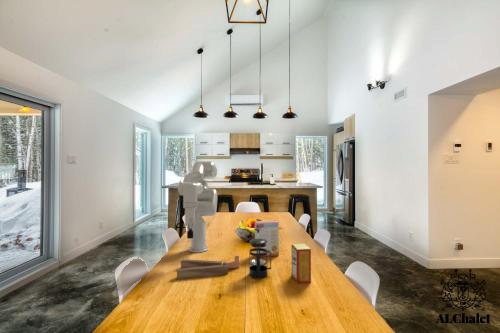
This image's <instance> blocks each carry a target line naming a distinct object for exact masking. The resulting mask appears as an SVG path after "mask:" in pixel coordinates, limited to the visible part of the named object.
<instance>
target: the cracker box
mask: <svg viewBox="0 0 500 333" xmlns="http://www.w3.org/2000/svg"><path fill="white" fill-rule="evenodd" d="M256 228H260V229H262V230H261V231H259V239H265V240H267V243H266V246H265V247H262V248H263V249H266V250H267V251H271V257H277V256H280V242H279V240H280V238H279V233H280V232H279V230H280V228H279V221H278V220H277V219H275V220H255V221H254V229H256ZM254 239H258V233H257V231H256V230H254ZM254 253H257V251H254ZM260 253H265V252H264V251H260ZM262 257H266V258H267V257H270V252H267V255H265V256H260V258H262Z"/></svg>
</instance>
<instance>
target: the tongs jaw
mask: <svg viewBox="0 0 500 333" xmlns="http://www.w3.org/2000/svg"><path fill="white" fill-rule="evenodd" d="M214 265H223V261H222V260H219V261H218V260H203V259H202V260H201V259H184V258H182V259H181V260H180V269H184V268H194V267H204V266H214Z"/></svg>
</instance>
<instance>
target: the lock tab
mask: <svg viewBox="0 0 500 333" xmlns="http://www.w3.org/2000/svg"><path fill="white" fill-rule="evenodd" d="M226 262H227V263H228V269H237V268H240V255H239V254H234V260H230V261H226Z"/></svg>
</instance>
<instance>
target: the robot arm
mask: <svg viewBox="0 0 500 333" xmlns="http://www.w3.org/2000/svg"><path fill="white" fill-rule="evenodd" d="M217 176H218V169H217V166H216V163H214V162H213V161H206V160H204V161H203V160H202V161H196V162H195V163H194V164H193V166H192V168H191V172H189V173H187V174H185V175H184V176H182V177H181V178H180V181H179V182H178V187H177V192H178V194H180V195H181V196H182V197H183V201H182V202H183V203H182V205H183V206H182V208H183V209H184V226H185V227H187V232H186V234H187V235H186V236H187V237H186V238H187V240H188V239H190V247H189V248H188V251H189V252H191V253H204V252H206V251H208V250H209V246H208V245H206V244H207V243H206V242H207V238H206V237H207V234H206V233H207V228H206V227H207V226H206V225H207V223H206V220H205V219H204V218H203V217H213V216H215V215H216V214H217V209H218V206H217V205H218V191H217V190H216V189H215V188H208V187H209V186H208V183H207V182H206V180H205V179H204V178H208V179H209V178H215V177H217Z"/></svg>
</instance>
